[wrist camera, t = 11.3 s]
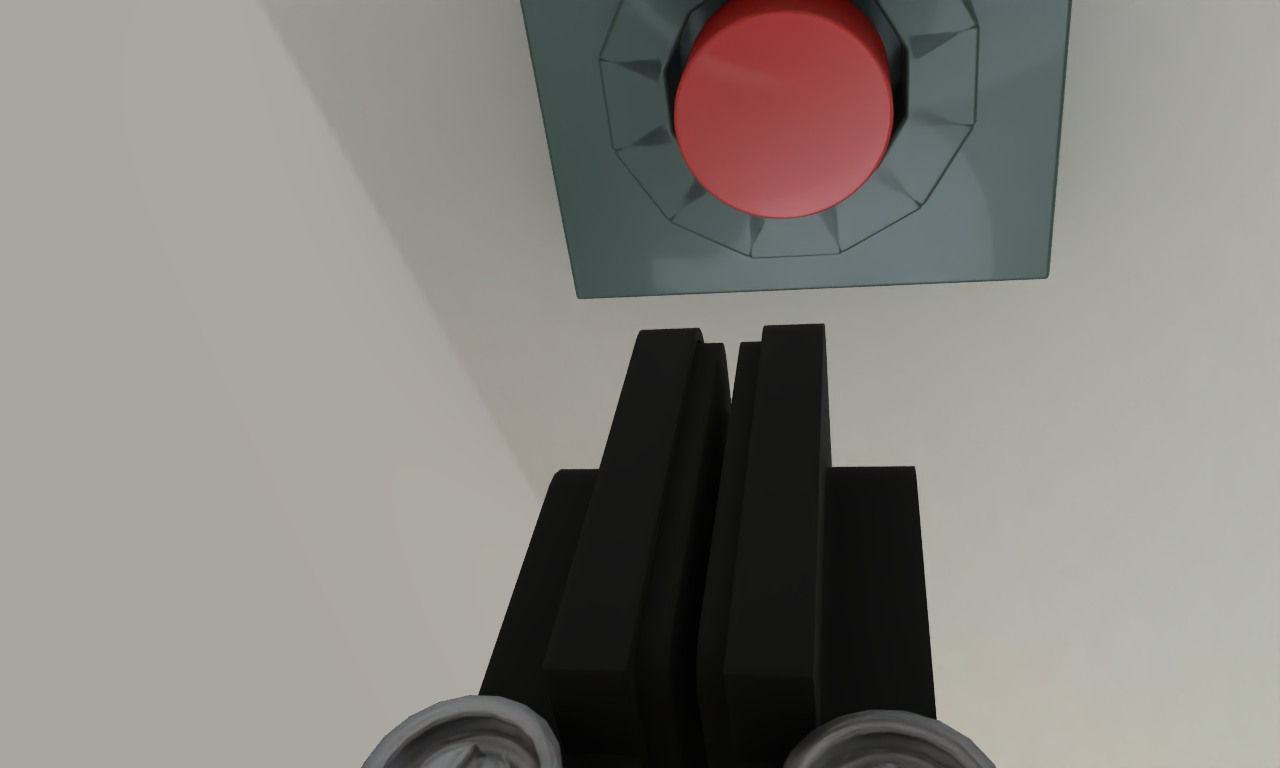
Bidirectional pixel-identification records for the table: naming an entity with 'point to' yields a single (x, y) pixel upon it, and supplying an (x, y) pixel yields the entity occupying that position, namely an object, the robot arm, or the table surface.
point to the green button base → (846, 233)
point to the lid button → (785, 105)
